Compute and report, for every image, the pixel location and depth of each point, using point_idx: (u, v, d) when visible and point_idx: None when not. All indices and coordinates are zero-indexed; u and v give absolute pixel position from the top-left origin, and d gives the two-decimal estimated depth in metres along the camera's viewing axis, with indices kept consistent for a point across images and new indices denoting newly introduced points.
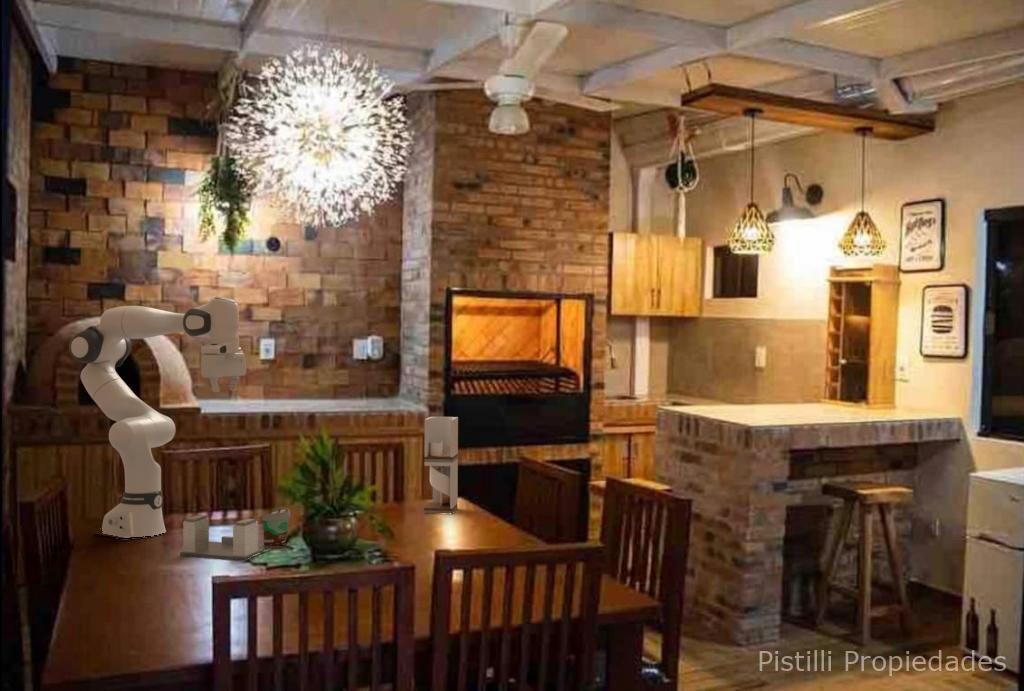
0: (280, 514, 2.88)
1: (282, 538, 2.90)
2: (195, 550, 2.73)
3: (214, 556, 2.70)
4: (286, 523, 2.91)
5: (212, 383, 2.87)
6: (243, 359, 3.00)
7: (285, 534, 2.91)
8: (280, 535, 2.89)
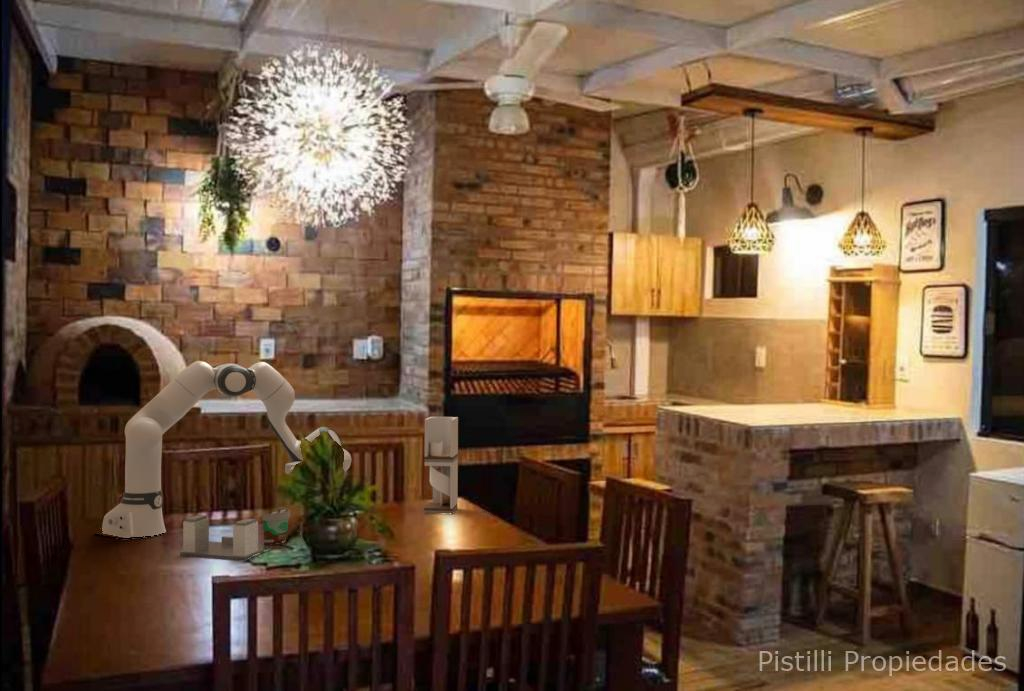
0: (280, 514, 2.88)
1: (282, 538, 2.90)
2: (195, 550, 2.73)
3: (214, 556, 2.70)
4: (286, 523, 2.91)
5: None
6: None
7: (285, 534, 2.91)
8: (280, 535, 2.89)
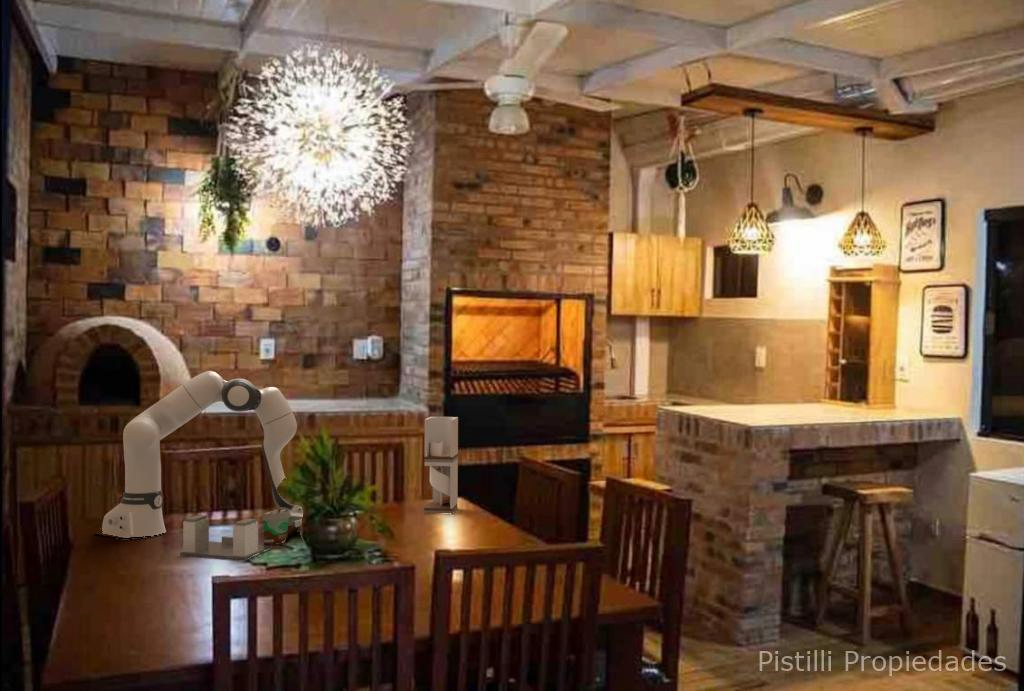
0: (280, 514, 2.88)
1: (282, 538, 2.90)
2: (195, 550, 2.73)
3: (214, 556, 2.70)
4: (286, 523, 2.91)
5: None
6: None
7: (285, 534, 2.91)
8: (280, 535, 2.89)
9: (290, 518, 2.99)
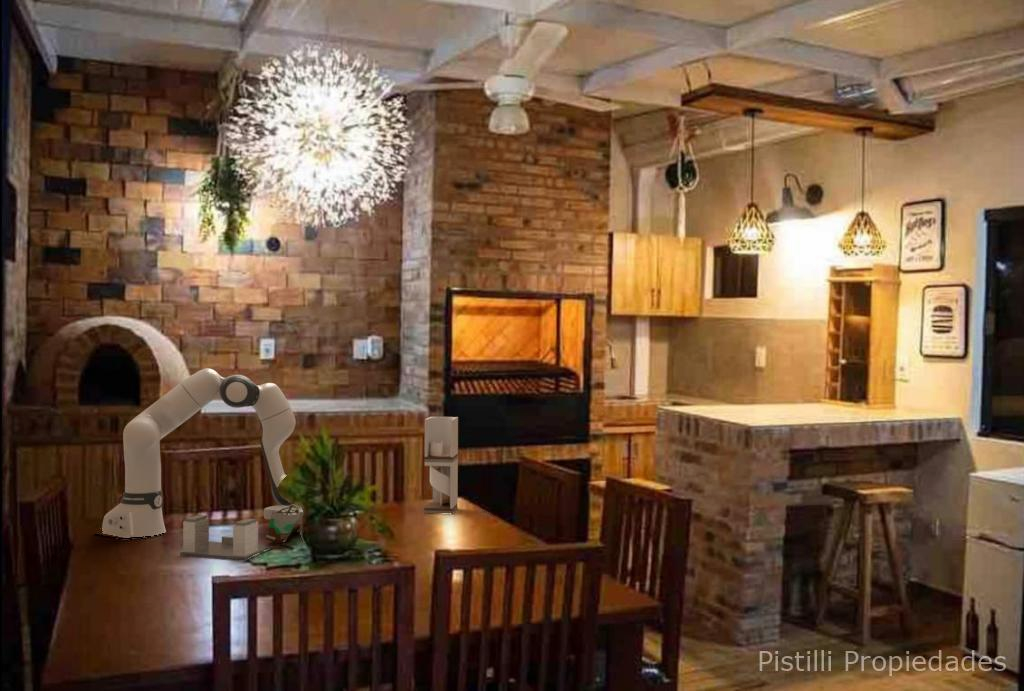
0: (289, 516, 2.87)
1: (284, 538, 2.89)
2: (195, 550, 2.73)
3: (214, 556, 2.70)
4: (292, 525, 2.90)
5: None
6: None
7: (288, 534, 2.90)
8: (283, 535, 2.88)
9: None
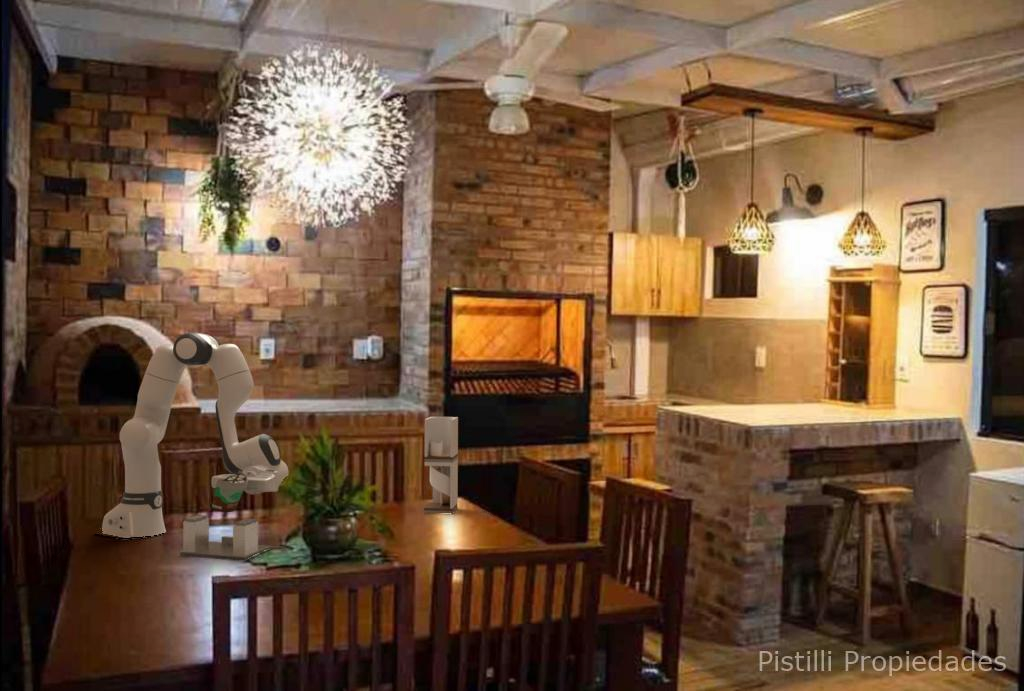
0: (236, 485, 2.72)
1: (231, 507, 2.75)
2: (195, 550, 2.73)
3: (214, 556, 2.70)
4: (240, 493, 2.75)
5: None
6: None
7: (236, 503, 2.76)
8: (230, 504, 2.74)
9: None
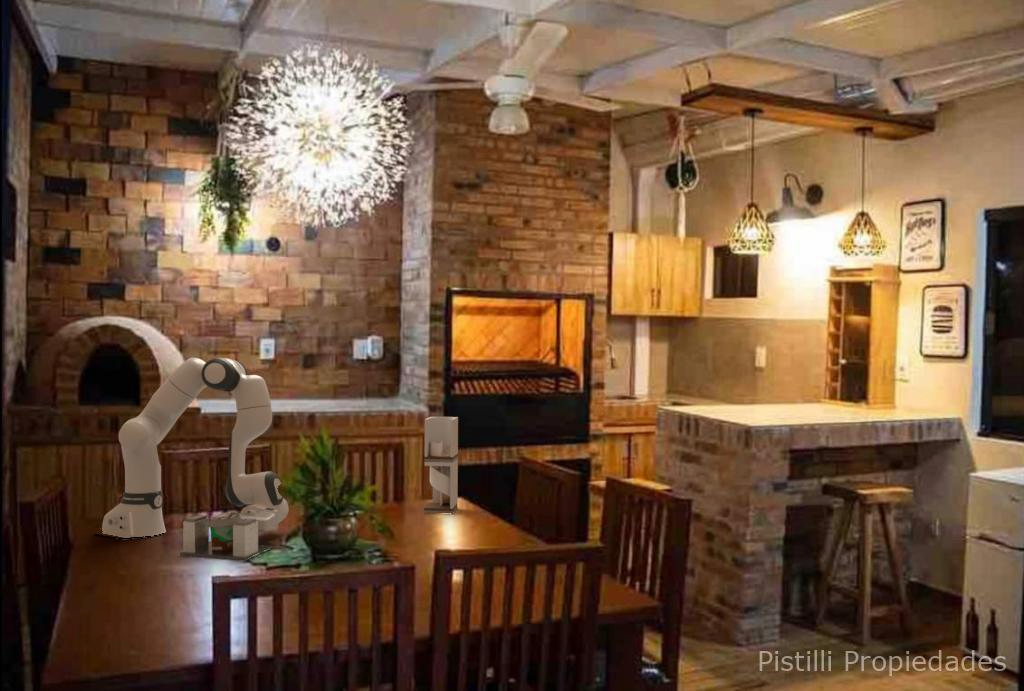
0: (228, 520, 2.73)
1: (231, 545, 2.75)
2: (195, 550, 2.73)
3: (214, 556, 2.70)
4: None
5: None
6: None
7: None
8: (229, 541, 2.74)
9: None
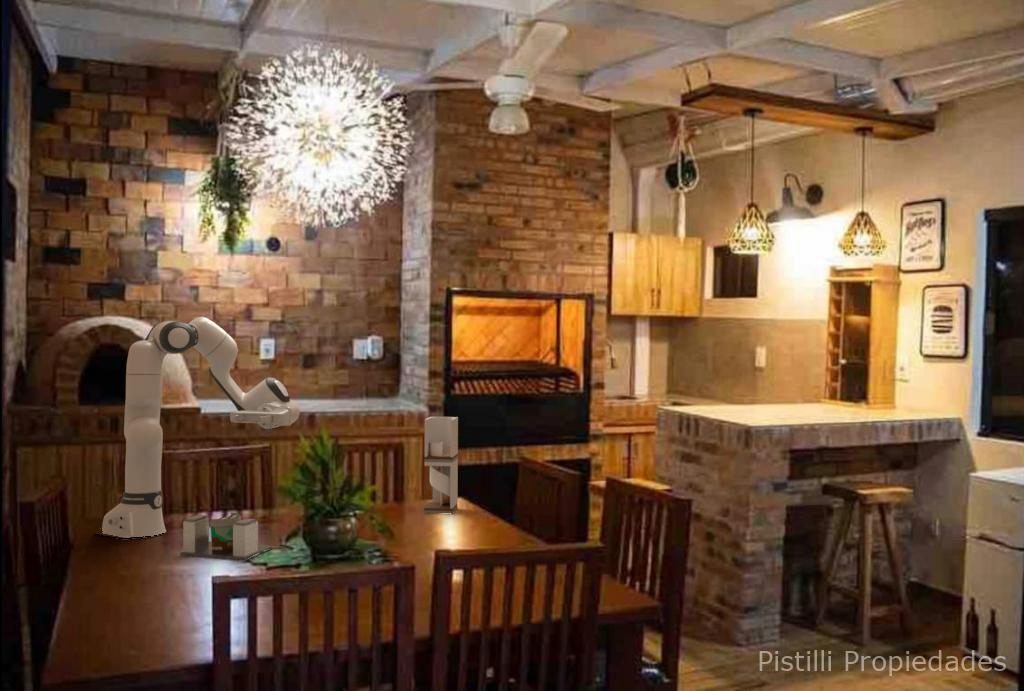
0: (229, 520, 2.73)
1: (231, 545, 2.75)
2: (195, 550, 2.73)
3: (214, 556, 2.70)
4: None
5: (267, 417, 3.05)
6: None
7: None
8: (229, 542, 2.74)
9: (255, 416, 3.09)
